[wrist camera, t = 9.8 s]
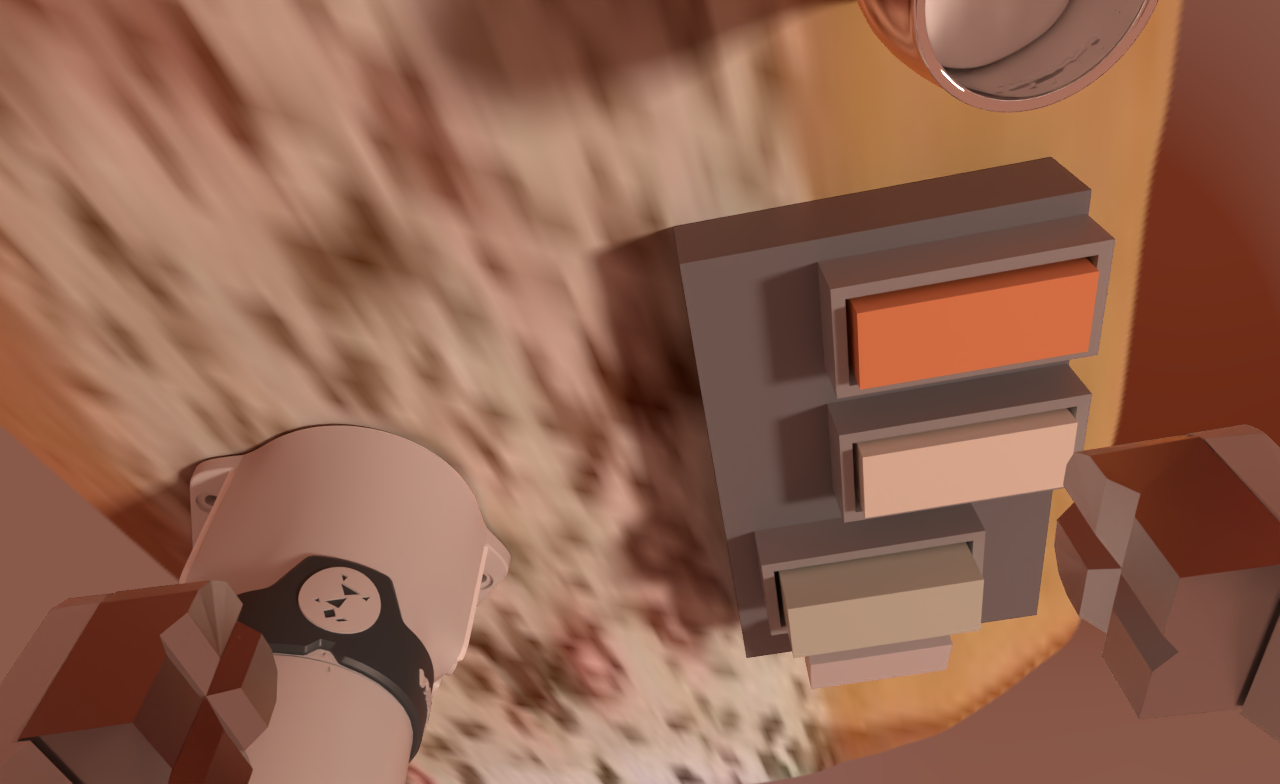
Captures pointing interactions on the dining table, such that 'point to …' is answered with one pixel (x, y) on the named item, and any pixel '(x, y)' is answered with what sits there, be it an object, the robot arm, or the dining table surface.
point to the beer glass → (1008, 45)
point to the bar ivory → (963, 463)
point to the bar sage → (882, 599)
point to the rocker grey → (878, 662)
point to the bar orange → (971, 323)
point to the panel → (843, 414)
